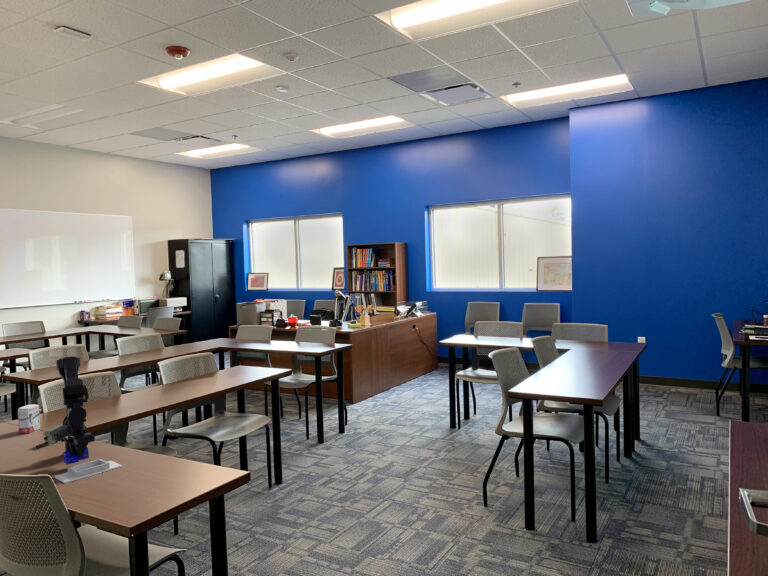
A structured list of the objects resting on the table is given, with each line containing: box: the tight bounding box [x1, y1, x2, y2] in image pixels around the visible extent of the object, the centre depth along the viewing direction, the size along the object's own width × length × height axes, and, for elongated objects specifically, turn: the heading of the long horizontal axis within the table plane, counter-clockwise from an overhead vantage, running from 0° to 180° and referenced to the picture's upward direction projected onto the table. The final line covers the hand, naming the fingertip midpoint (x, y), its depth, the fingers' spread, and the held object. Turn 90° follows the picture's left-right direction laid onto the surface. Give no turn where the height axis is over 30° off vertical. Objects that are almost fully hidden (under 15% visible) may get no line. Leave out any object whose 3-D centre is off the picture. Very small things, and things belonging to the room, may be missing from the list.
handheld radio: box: [35, 423, 62, 449], centre depth 248 cm, size 7×3×25 cm
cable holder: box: [62, 446, 90, 466], centre depth 214 cm, size 8×4×4 cm, turn 136°
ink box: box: [17, 404, 41, 435], centre depth 264 cm, size 9×5×12 cm, turn 179°
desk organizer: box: [54, 458, 123, 484], centre depth 207 cm, size 9×20×3 cm, turn 140°
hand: (77, 457), depth 214 cm, fingers closed on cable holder, 4 cm apart
